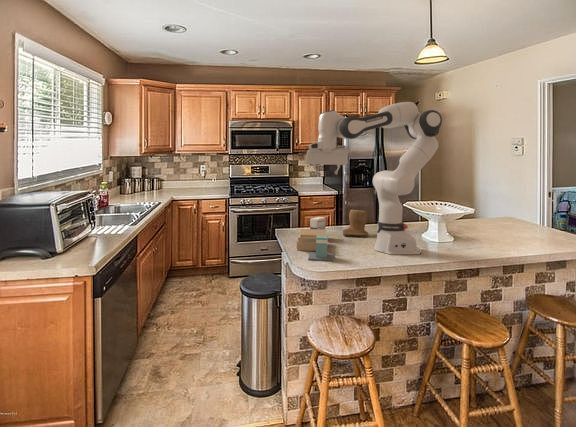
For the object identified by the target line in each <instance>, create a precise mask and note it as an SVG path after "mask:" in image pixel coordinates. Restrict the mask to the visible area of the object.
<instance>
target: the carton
mask: <svg viewBox="0 0 576 427" xmlns="http://www.w3.org/2000/svg"><path fill="white" fill-rule="evenodd" d="M317 235H327V229H325V230H317V229H309V228H301V229H300V234H299V235H298V237H297V241H296V250H297V251H303V252H304V251H306V252H316V237H317Z"/></svg>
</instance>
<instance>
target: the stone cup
mask: <svg viewBox="0 0 576 427" xmlns="http://www.w3.org/2000/svg"><path fill="white" fill-rule="evenodd" d="M348 218H349V219H348V221H349V228H347V229H345V228H344V229H342V236H350V237H359V236H360V237H362V236H369V232H368V231H366V230H365V226H366V224H367V221H368V212H367V211H366V210H358V209H350V211H349V214H348Z"/></svg>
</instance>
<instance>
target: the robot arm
mask: <svg viewBox="0 0 576 427" xmlns="http://www.w3.org/2000/svg"><path fill="white" fill-rule="evenodd" d="M442 123H443V118H442V115H441V114H440V112H439V111H438V110H434V109H429V110H425V111H423V112H422V113H421V112H420V111H419V108H418V106H417V104H416V103H415V102H413V101H401V102H397V103H392V104H389V105H386V106H384V107H382V108H380V109H379V110H378V112H377V113H375V114H371V115H368V116H364V117H361V116H360V117H359V116H355V115H354V116H353V115H350V116H343V115H341V114H340V113H338V112H337V111H336V110H334V109H332V110H326V111H323V112H321V113H320V114H319V117H318V129H317V130H318V137H317V141H315V142H313V143H309V144H308V150H307V152H306V155H305V164H307V165H312V168H313V169H314V174H315V175H319V170H318V169H316V166H317V165H324V166H325V165H330V166H334V165H335V166H336V167H337V168H336V170H334V175H338V172H339V170H340V168H341V166H346V165H348V163H349V162H348V159H349V158H348V155H349V151H350V148H349V147H348V146H347V145H337V140H338V139H337V138H340V139H345V140H346V139H348V140H349V139H350V140H353V139H357V138H358V137H360V136H361V135H362V134H363V133H365V132H368V131H370V130H371V131H372V130H374V129H378V128H382V129H393V128H398V127H401V126H404V129H405V130H406V134H407V135H408V137H409V138H411V139H412V140H415V141H414V143H413V144H412V145H411V146H410V147H409V148H408V149H407V150H406V151H405V152H404V153H403V154H402V156H401V157H400V158H399V164H398V166H397V167H396V169H395V170H382V171H378V172H376V173H375V174H374V175H373V177H372V186H373V187H374V189H375V191H376V195H377V199H378V208H379V209H378V221H377V225H376V231H377V232H376V233H377V235H376V240H375V244H374V247H373V249H374V251H377V252H380V253H385V254H388V255H421V254H420V253H422V249H421V248H420V247H419V246H418V244H417V240H416V238H415V236H413V235H412V234H411V233H410V232H409V231H407V229H408V228H409V225H408V224H406V223H404V222H403V208H404V206H403V205H402V203H401V201H400V198H399V196H406V195H407V196H408V195H409V194H411V193H412V192H413V190H414V188H415V179H416V177H417V175H418V173H419V172H420V171H421V170H422V169H423V168H424V167H425V166H426V164H427V163H428V162H429V161H430V160H431V159H432V158H433V156H434V155H435V153H436V152H437V150H438V149H439V142H438V140H437V138H436V137H435V136H437V135H438V134H439V132H440V128H441V126H442Z"/></svg>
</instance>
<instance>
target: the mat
mask: <svg viewBox="0 0 576 427" xmlns="http://www.w3.org/2000/svg"><path fill="white" fill-rule="evenodd" d="M307 260H308V261H317V262H334V252H327V258H321V257H316V251H309V254H308V259H307Z"/></svg>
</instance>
